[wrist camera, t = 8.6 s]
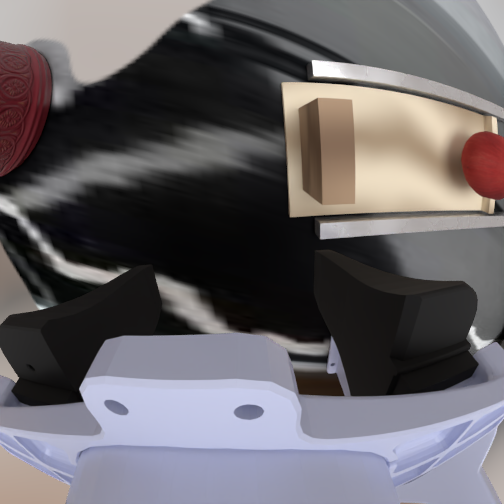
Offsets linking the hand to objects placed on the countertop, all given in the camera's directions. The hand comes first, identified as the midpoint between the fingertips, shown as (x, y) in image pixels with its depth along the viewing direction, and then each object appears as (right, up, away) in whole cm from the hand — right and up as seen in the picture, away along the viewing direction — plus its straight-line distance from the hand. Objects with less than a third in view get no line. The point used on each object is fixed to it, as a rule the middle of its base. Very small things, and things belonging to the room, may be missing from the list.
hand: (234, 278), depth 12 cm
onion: (+20, +10, +7) cm, 24 cm away
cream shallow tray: (+14, +9, +7) cm, 18 cm away
